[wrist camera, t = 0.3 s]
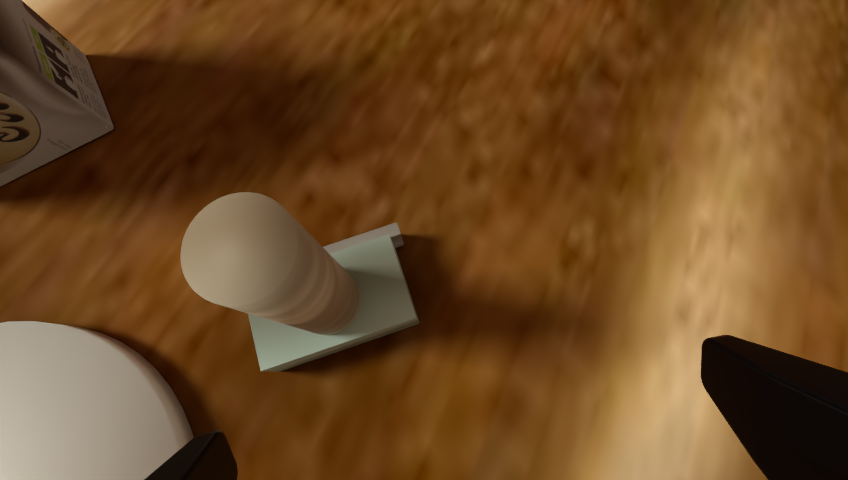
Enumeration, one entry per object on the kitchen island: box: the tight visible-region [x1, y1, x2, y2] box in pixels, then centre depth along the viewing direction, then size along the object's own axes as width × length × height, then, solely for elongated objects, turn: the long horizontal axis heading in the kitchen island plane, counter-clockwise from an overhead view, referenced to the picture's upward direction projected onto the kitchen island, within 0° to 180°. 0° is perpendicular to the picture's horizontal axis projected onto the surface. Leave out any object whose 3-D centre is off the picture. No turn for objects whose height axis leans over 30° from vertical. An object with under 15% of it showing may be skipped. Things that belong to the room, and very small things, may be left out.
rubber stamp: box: [181, 192, 420, 371], centre depth 17 cm, size 5×8×12 cm, turn 108°
